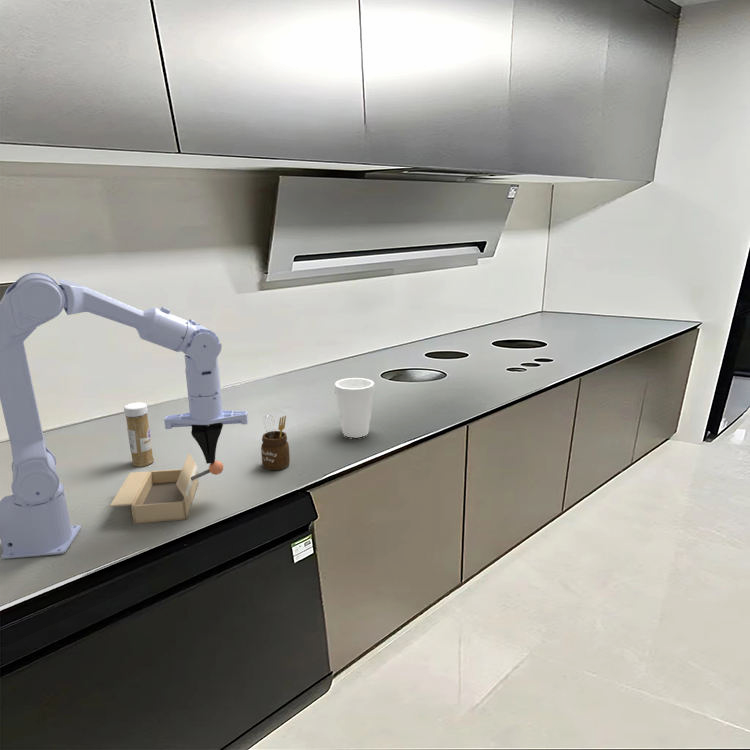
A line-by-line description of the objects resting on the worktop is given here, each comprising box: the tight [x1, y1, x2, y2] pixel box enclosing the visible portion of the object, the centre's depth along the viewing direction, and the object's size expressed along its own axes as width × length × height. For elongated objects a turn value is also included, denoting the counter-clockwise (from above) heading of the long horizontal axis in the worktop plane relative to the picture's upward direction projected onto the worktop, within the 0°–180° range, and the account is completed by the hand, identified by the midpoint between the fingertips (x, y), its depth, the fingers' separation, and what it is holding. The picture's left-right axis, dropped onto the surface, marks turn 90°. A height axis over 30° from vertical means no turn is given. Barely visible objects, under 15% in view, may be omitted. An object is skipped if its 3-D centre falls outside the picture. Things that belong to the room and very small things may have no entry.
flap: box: [176, 453, 224, 499], centre depth 104 cm, size 4×13×7 cm
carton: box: [109, 468, 199, 525], centre depth 104 cm, size 13×14×4 cm
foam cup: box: [334, 377, 375, 438], centre depth 136 cm, size 10×9×13 cm
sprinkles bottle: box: [123, 401, 155, 468], centre depth 120 cm, size 5×5×14 cm
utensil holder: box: [260, 414, 291, 471], centre depth 119 cm, size 6×6×12 cm
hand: (210, 461), depth 104 cm, fingers closed
